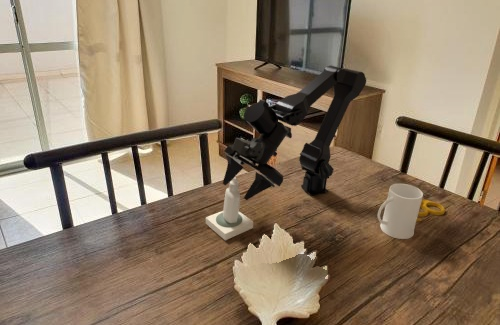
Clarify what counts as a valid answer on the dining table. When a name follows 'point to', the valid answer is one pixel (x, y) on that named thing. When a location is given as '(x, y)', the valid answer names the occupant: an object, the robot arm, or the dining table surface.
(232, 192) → the eye dropper bottle
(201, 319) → the dining table surface
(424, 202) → the yellow scissors
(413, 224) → the mug
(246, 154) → the robot arm
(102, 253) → the dining table surface
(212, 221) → the plinth
